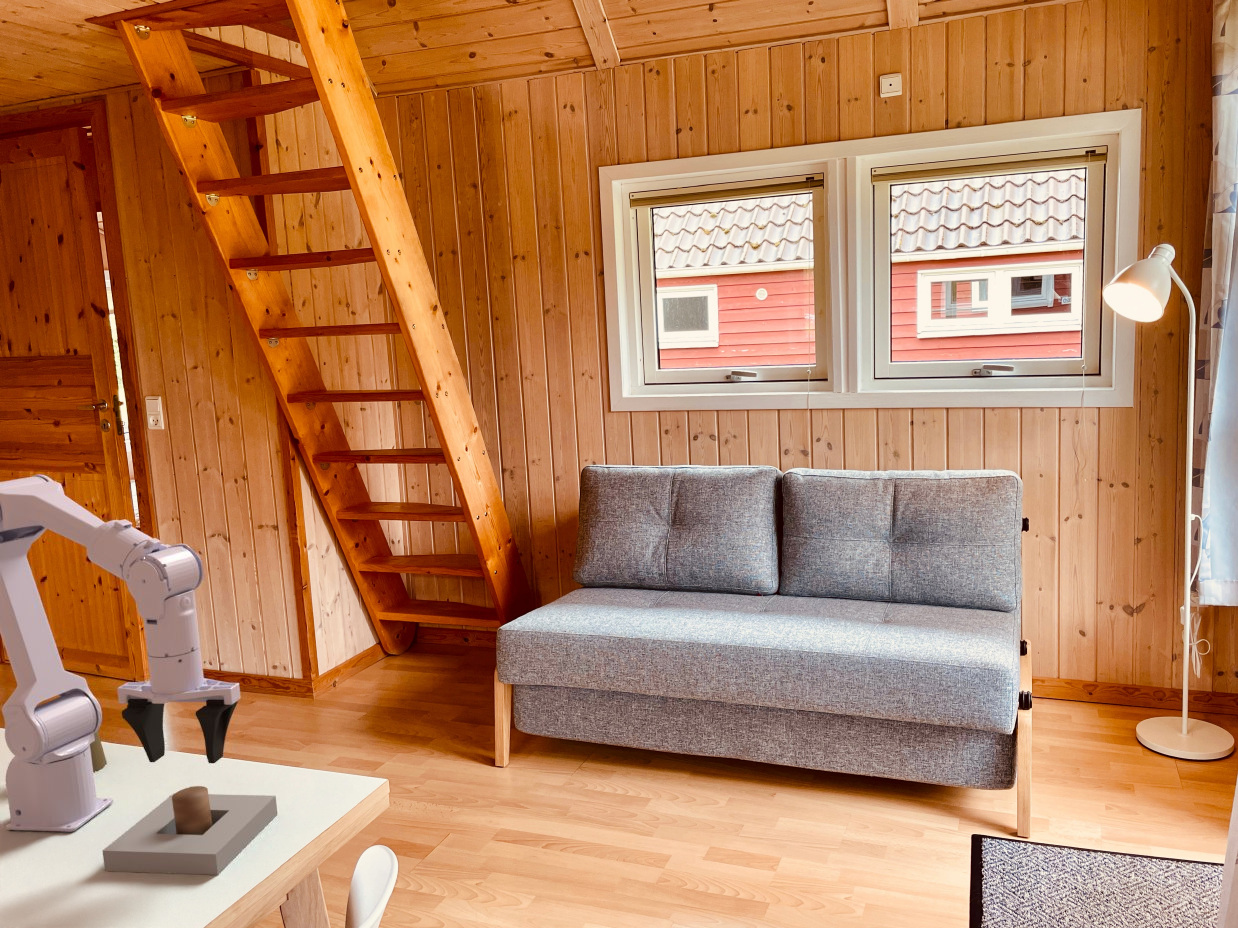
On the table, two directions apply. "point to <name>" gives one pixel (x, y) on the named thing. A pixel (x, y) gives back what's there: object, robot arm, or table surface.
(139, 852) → the socket block
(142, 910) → the table surface
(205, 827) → the wooden peg
